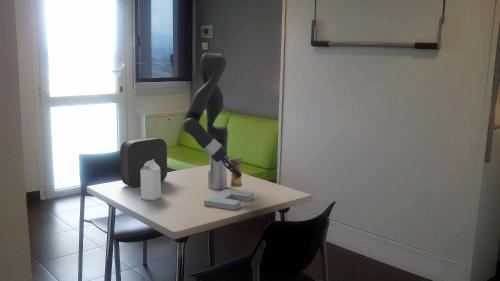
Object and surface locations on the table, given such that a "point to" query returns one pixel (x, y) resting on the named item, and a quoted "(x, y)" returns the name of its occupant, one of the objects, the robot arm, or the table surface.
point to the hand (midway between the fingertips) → (240, 174)
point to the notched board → (228, 199)
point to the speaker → (142, 158)
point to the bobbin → (234, 179)
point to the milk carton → (150, 181)
